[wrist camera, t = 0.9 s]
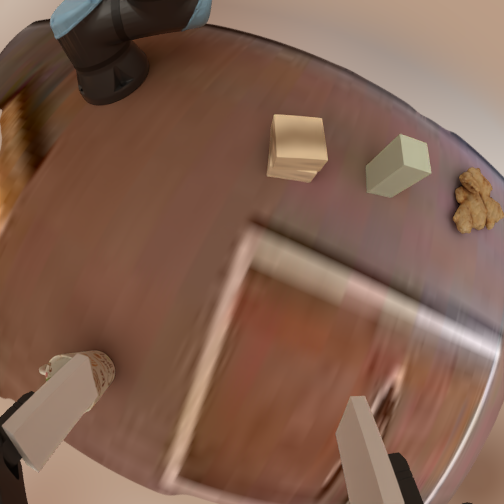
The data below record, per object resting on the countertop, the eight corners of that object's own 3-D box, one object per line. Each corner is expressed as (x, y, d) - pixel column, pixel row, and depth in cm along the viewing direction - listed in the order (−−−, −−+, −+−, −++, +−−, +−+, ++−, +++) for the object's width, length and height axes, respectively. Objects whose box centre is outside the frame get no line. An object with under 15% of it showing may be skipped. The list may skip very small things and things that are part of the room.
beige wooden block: (270, 139, 44) (273, 126, 40) (311, 145, 45) (317, 134, 41) (266, 176, 43) (269, 166, 39) (309, 183, 44) (316, 173, 40)
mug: (125, 394, 37) (100, 418, 27) (63, 385, 36) (31, 401, 26) (118, 344, 38) (89, 358, 28) (56, 339, 37) (21, 347, 27)
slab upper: (270, 128, 40) (274, 114, 36) (314, 131, 41) (321, 118, 37) (272, 169, 39) (276, 157, 35) (319, 171, 40) (327, 160, 36)
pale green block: (365, 166, 45) (399, 133, 33) (389, 171, 45) (426, 143, 33) (366, 192, 44) (403, 164, 32) (391, 197, 44) (431, 173, 32)
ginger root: (486, 174, 46) (508, 171, 38) (482, 241, 48) (505, 244, 40) (441, 155, 46) (464, 148, 38) (437, 230, 48) (461, 232, 40)
